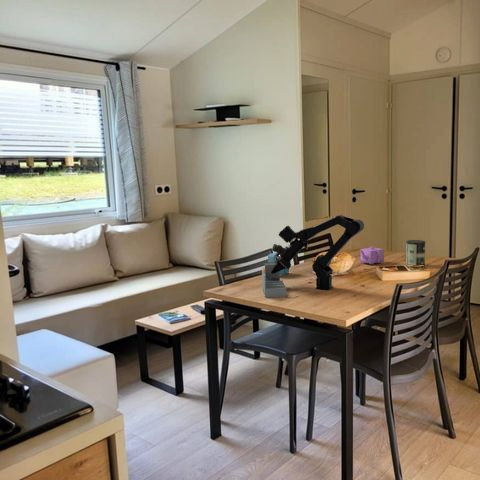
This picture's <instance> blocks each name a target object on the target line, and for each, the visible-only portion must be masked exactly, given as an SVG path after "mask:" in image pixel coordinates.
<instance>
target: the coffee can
mask: <svg viewBox="0 0 480 480" xmlns="http://www.w3.org/2000/svg"><path fill="white" fill-rule="evenodd" d="M405 244H406V247H405V248H406V251H405V253H406V260H405V261H406V262H405V264H406V263H407V264H412V265H425V266H426V240H422V239H409V240H406V241H405Z"/></svg>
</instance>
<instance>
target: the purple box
mask: <svg viewBox="0 0 480 480" xmlns="http://www.w3.org/2000/svg"><path fill="white" fill-rule="evenodd" d="M359 252H360V263H362V262H365V263H369V264H368V265H370V264H374V263H380V262H383V263H384V262H385V249H383V248H378V247H375V246H374V245H373V246H370V247H368V248H366V247H365V248H360V250H359ZM365 263H364V264H365ZM380 264H381V263H380ZM374 265H375V264H374Z"/></svg>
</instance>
